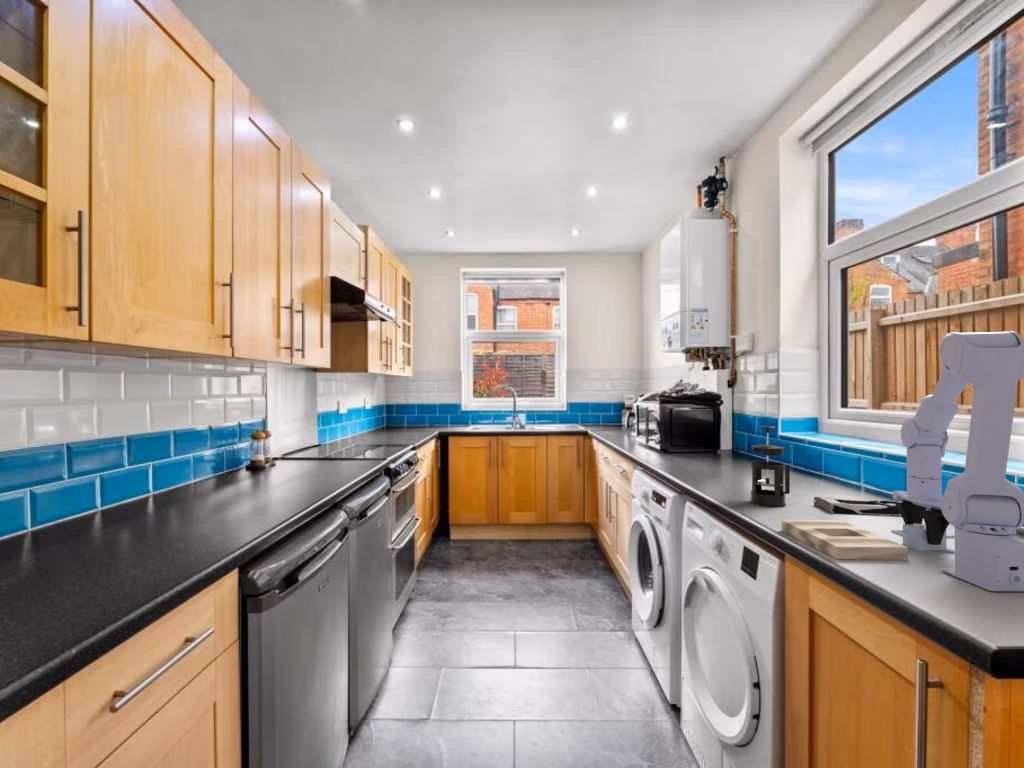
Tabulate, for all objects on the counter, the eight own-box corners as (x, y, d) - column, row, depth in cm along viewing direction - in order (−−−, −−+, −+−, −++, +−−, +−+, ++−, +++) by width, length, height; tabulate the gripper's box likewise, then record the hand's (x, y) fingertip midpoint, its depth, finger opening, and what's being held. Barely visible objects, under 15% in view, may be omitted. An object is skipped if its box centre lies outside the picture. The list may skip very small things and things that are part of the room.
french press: (760, 507, 139) (760, 427, 139) (741, 500, 148) (741, 425, 149) (798, 506, 140) (798, 427, 141) (777, 499, 150) (777, 424, 150)
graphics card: (813, 496, 142) (909, 499, 138) (813, 507, 142) (909, 511, 138) (830, 503, 132) (933, 508, 128) (830, 516, 132) (933, 520, 128)
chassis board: (908, 559, 96) (908, 547, 96) (837, 559, 96) (837, 546, 96) (839, 530, 116) (839, 520, 116) (781, 530, 116) (781, 520, 116)
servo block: (958, 551, 102) (958, 527, 102) (906, 550, 102) (906, 526, 102) (941, 545, 106) (941, 522, 106) (891, 544, 106) (891, 521, 106)
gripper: (974, 483, 97) (975, 551, 97) (914, 471, 112) (914, 530, 112) (939, 483, 97) (939, 551, 97) (883, 471, 112) (884, 530, 112)
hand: (924, 540), depth 104 cm, fingers open, 4 cm apart
